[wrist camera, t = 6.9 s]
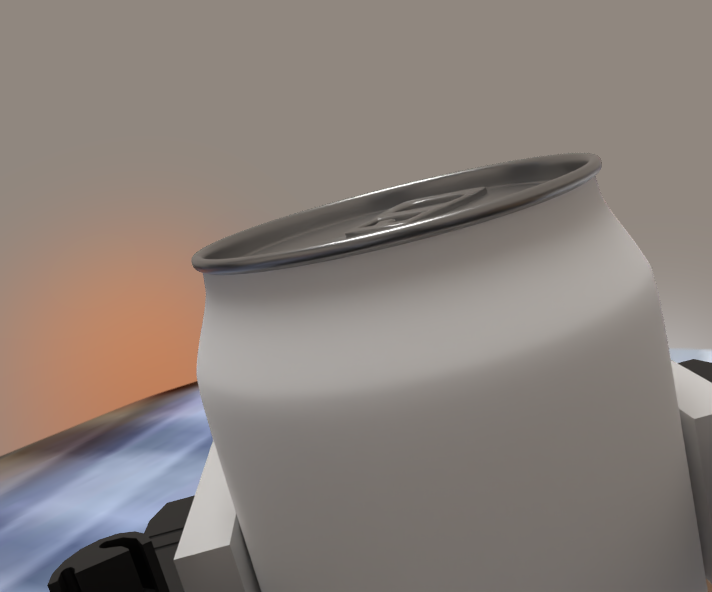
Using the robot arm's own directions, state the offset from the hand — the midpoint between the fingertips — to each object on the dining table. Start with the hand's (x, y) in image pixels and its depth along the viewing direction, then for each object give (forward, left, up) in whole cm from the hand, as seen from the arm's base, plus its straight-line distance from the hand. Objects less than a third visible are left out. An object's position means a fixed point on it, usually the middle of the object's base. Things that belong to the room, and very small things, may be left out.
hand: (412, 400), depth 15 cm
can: (0, -5, -7) cm, 9 cm away
